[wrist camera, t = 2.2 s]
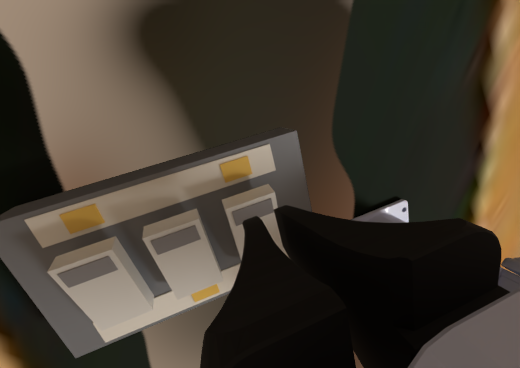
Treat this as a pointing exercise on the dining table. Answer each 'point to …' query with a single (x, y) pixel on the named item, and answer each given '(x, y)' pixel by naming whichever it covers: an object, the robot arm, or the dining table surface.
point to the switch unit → (142, 214)
